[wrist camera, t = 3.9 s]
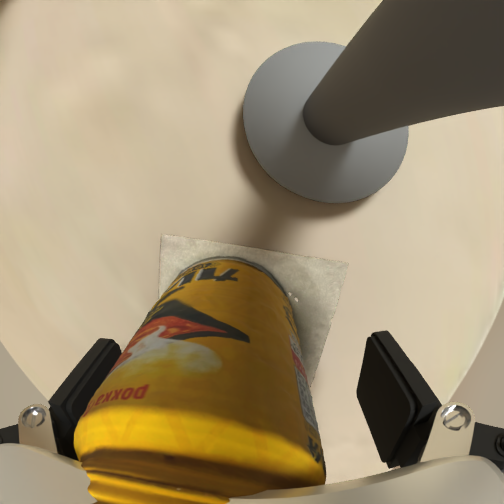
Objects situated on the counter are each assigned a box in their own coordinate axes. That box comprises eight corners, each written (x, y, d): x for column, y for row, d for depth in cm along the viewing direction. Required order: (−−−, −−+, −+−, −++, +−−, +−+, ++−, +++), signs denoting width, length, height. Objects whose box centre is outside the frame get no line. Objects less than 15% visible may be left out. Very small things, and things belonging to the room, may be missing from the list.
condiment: (162, 233, 12) (-73, 440, 1) (347, 261, 12) (531, 493, 1) (159, 362, 14) (80, 557, 3) (309, 382, 14) (349, 585, 3)
